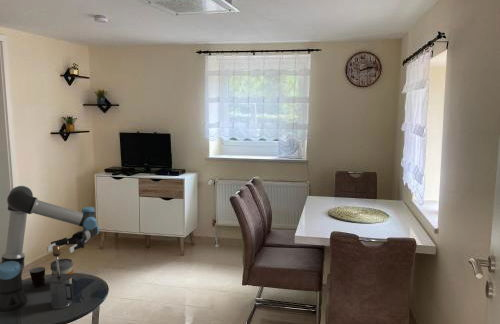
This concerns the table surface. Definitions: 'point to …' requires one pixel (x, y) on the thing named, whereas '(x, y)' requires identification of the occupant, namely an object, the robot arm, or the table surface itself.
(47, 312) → the table surface
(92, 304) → the table surface
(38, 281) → the coffee mug
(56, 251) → the plunger
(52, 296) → the press carafe
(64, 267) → the reusable coffee cup
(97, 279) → the table surface
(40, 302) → the table surface
